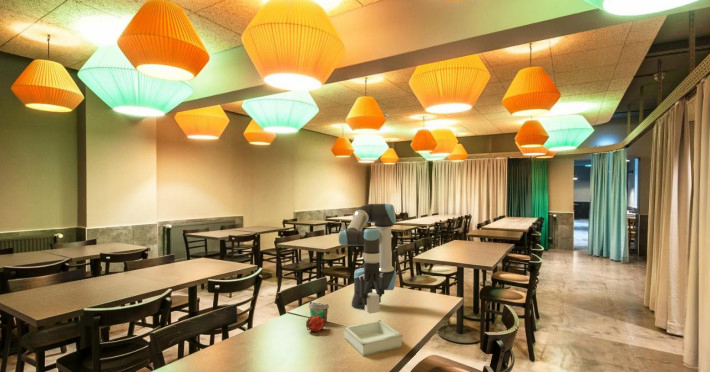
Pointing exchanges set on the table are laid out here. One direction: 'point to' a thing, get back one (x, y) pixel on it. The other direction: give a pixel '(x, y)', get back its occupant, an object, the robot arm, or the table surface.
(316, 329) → the dragon fruit
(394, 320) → the table surface
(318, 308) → the food container
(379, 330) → the bin
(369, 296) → the stone block
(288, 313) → the table surface
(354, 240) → the robot arm
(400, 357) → the table surface
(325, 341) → the table surface
